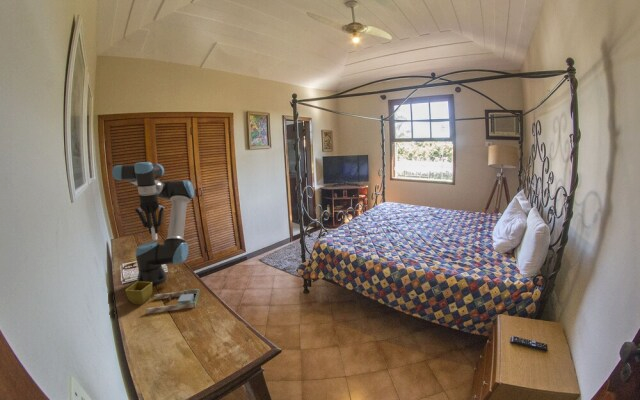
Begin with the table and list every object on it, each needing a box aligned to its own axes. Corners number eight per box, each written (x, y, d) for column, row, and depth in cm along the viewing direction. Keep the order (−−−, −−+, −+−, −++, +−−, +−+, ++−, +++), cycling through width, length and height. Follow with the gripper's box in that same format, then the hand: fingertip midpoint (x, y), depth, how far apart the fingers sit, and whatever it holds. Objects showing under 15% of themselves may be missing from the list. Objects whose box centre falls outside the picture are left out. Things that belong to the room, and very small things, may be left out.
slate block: (178, 308, 141) (177, 301, 140) (182, 301, 147) (181, 294, 146) (191, 307, 142) (190, 300, 141) (194, 300, 148) (193, 293, 147)
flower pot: (155, 297, 151) (152, 281, 149) (143, 306, 143) (141, 290, 141) (139, 296, 152) (137, 281, 150) (127, 306, 144) (124, 290, 142)
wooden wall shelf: (146, 313, 137) (145, 308, 136) (155, 299, 149) (154, 294, 149) (195, 307, 142) (194, 302, 141) (199, 293, 154) (199, 288, 153)
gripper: (129, 196, 134) (138, 243, 140) (160, 194, 137) (167, 240, 143) (135, 193, 141) (143, 238, 147) (164, 191, 144) (171, 235, 150)
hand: (155, 239), depth 145 cm, fingers closed
